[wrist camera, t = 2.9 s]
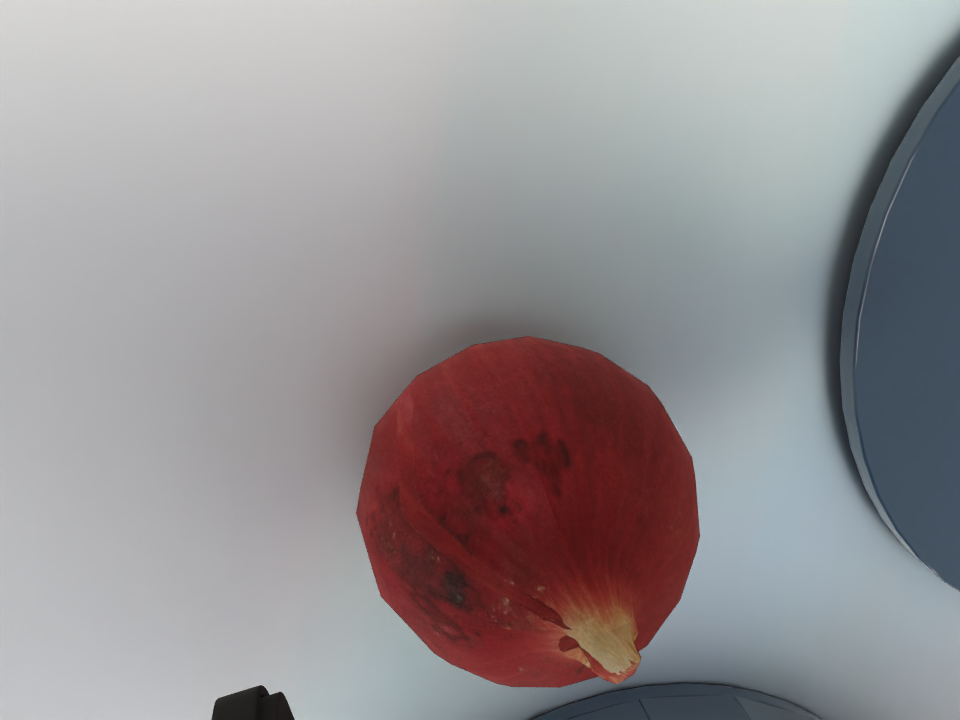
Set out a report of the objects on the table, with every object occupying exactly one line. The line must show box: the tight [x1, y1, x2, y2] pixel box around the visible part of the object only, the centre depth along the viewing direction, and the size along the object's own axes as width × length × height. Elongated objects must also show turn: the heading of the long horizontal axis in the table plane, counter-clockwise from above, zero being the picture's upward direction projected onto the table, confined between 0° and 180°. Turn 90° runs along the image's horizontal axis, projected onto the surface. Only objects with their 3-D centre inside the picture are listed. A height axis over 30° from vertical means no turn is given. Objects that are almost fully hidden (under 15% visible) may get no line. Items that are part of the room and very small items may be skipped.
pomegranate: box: [356, 336, 700, 687], centre depth 15 cm, size 6×6×8 cm
